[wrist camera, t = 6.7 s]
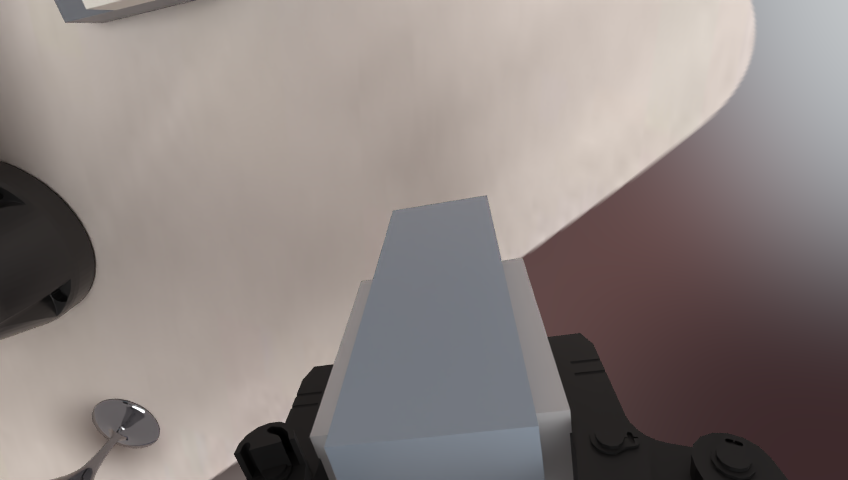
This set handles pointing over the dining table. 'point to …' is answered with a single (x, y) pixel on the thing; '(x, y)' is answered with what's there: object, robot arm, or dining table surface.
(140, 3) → the socket block
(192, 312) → the dining table surface
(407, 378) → the plug
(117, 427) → the wine glass
